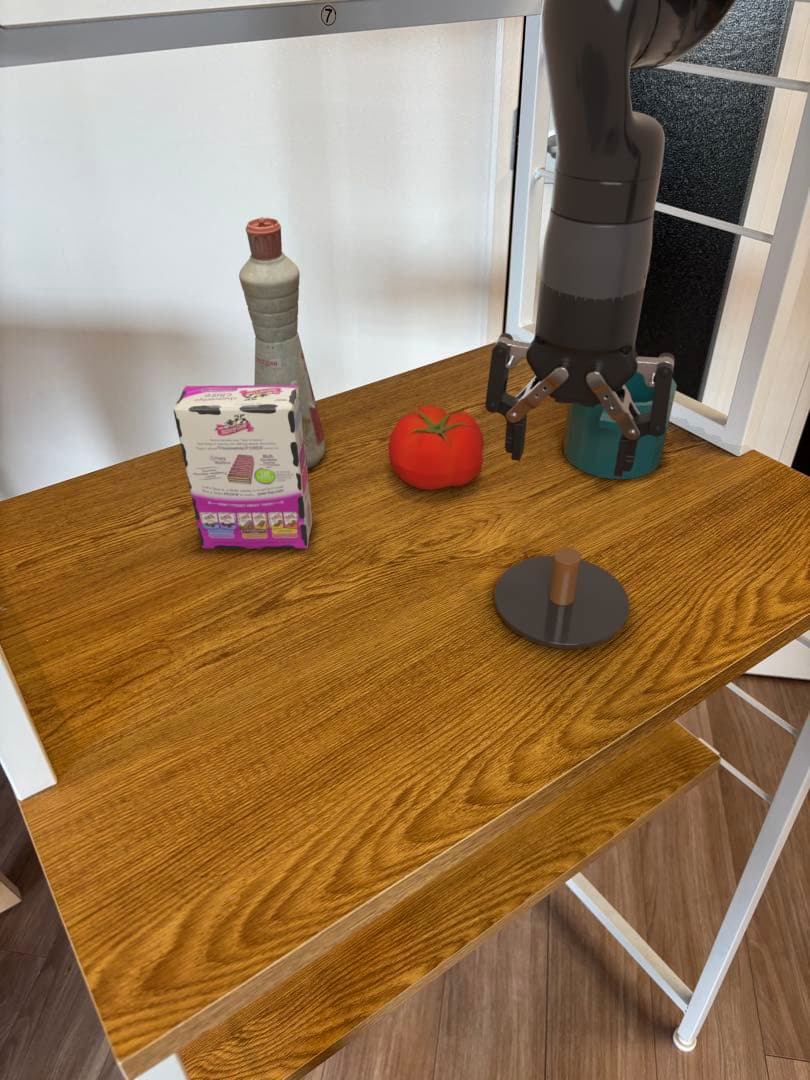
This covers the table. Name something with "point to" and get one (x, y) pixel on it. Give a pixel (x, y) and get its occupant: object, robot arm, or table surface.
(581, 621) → the lid
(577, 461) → the pot
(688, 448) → the table surface
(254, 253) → the bottle
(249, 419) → the candy bar box
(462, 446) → the tomato
